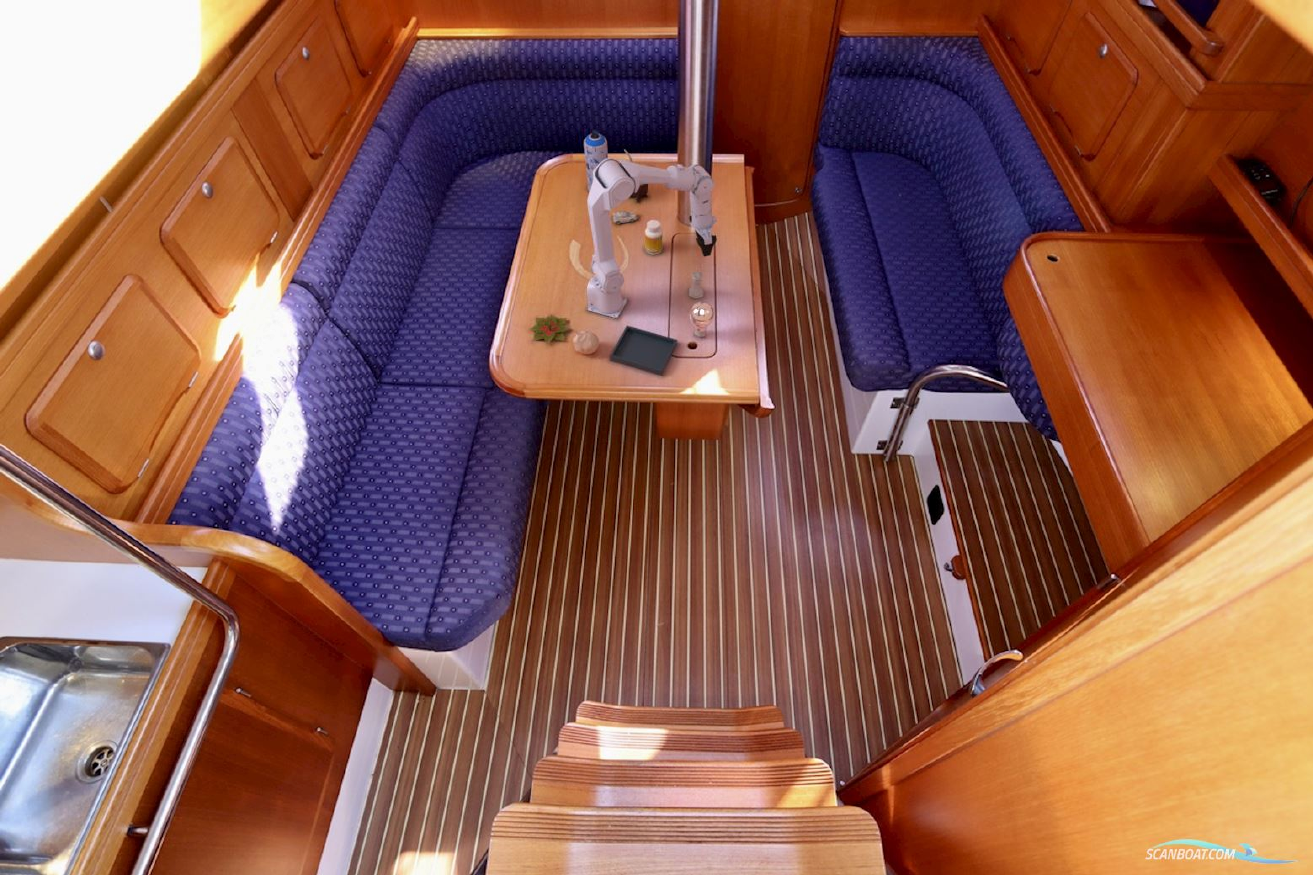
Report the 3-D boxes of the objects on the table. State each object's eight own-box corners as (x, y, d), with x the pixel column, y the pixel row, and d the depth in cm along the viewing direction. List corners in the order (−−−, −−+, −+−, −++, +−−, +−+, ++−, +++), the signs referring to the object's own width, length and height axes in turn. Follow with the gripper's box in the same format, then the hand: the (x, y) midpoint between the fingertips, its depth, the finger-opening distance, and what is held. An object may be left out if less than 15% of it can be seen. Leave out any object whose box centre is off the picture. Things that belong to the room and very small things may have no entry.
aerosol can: (585, 182, 223) (580, 126, 207) (608, 178, 224) (604, 123, 208) (589, 195, 219) (584, 140, 203) (612, 192, 220) (609, 137, 204)
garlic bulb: (584, 338, 183) (581, 318, 176) (603, 347, 181) (601, 327, 175) (571, 353, 180) (568, 334, 173) (590, 362, 178) (587, 343, 171)
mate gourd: (648, 203, 217) (647, 162, 204) (624, 203, 217) (622, 162, 204) (648, 189, 221) (648, 149, 209) (625, 189, 221) (623, 148, 209)
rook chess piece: (705, 290, 194) (707, 270, 187) (701, 300, 191) (702, 280, 185) (691, 287, 195) (692, 266, 188) (686, 297, 192) (687, 276, 186)
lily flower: (569, 346, 181) (567, 335, 177) (526, 346, 181) (523, 334, 178) (573, 315, 188) (571, 304, 184) (532, 315, 188) (529, 303, 184)
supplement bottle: (660, 256, 202) (660, 230, 194) (643, 254, 203) (643, 228, 195) (663, 245, 205) (664, 219, 197) (647, 242, 206) (646, 217, 198)
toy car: (638, 221, 212) (637, 214, 209) (614, 225, 211) (613, 217, 208) (635, 214, 214) (635, 207, 211) (611, 218, 212) (611, 210, 210)
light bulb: (704, 348, 181) (707, 317, 171) (683, 338, 183) (684, 307, 173) (716, 332, 184) (719, 302, 174) (695, 323, 186) (697, 292, 176)
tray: (610, 360, 178) (609, 355, 177) (627, 330, 185) (626, 325, 183) (661, 376, 175) (661, 371, 174) (677, 344, 182) (677, 339, 180)
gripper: (721, 223, 174) (723, 260, 186) (709, 188, 181) (711, 226, 193) (696, 229, 174) (699, 265, 186) (684, 194, 181) (688, 231, 193)
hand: (704, 246), depth 189 cm, fingers open, 7 cm apart
